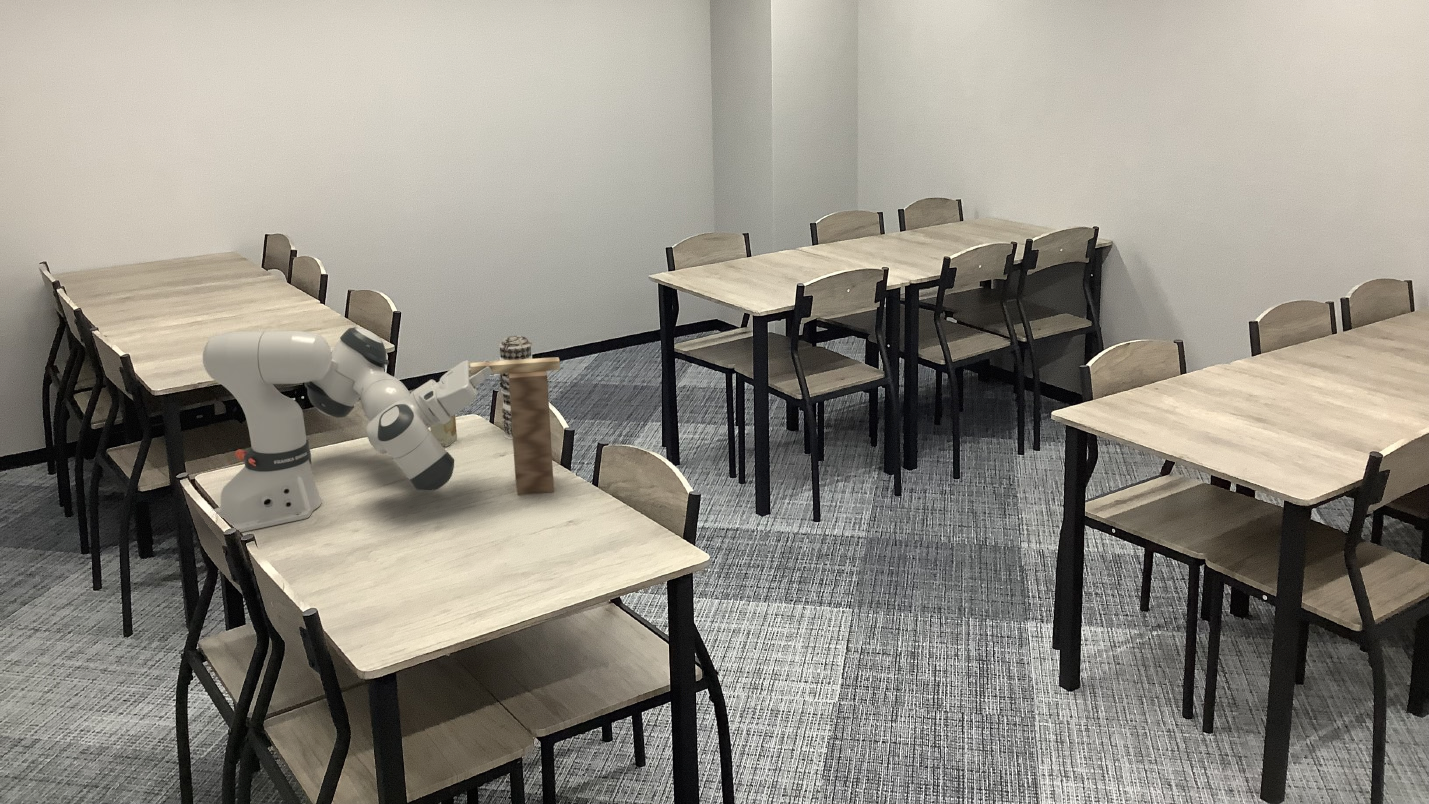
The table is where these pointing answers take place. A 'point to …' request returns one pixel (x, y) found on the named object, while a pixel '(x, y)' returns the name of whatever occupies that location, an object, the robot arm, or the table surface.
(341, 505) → the table surface
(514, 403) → the pedestal
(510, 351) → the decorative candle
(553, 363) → the slat
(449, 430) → the skincare box
